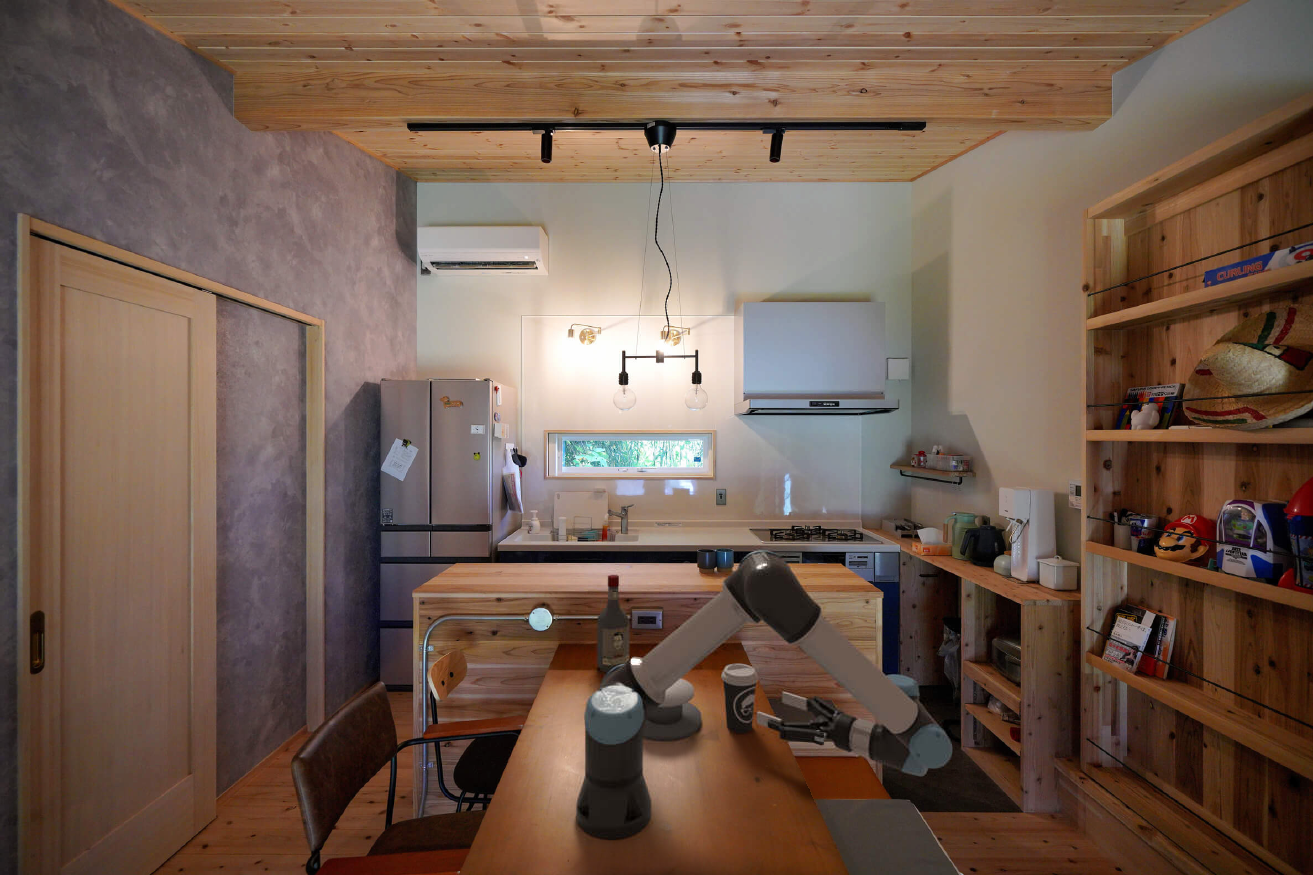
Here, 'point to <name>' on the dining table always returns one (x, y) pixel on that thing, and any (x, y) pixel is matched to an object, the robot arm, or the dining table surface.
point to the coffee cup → (739, 696)
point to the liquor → (612, 631)
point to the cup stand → (674, 715)
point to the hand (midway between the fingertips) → (770, 706)
